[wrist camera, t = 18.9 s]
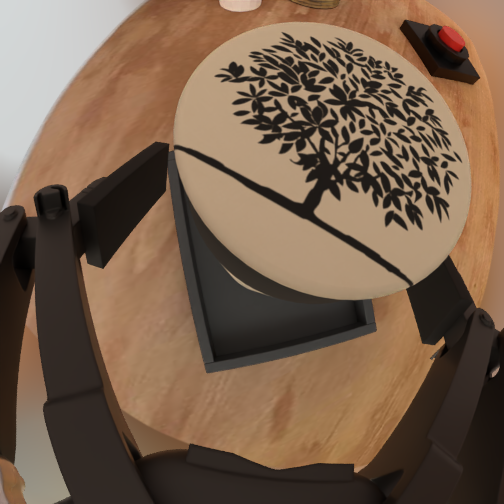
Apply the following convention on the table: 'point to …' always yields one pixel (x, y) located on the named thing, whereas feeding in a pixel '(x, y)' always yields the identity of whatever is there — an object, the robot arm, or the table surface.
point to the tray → (252, 306)
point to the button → (451, 38)
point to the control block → (439, 53)
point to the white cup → (240, 5)
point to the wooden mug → (318, 3)
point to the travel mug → (320, 164)
